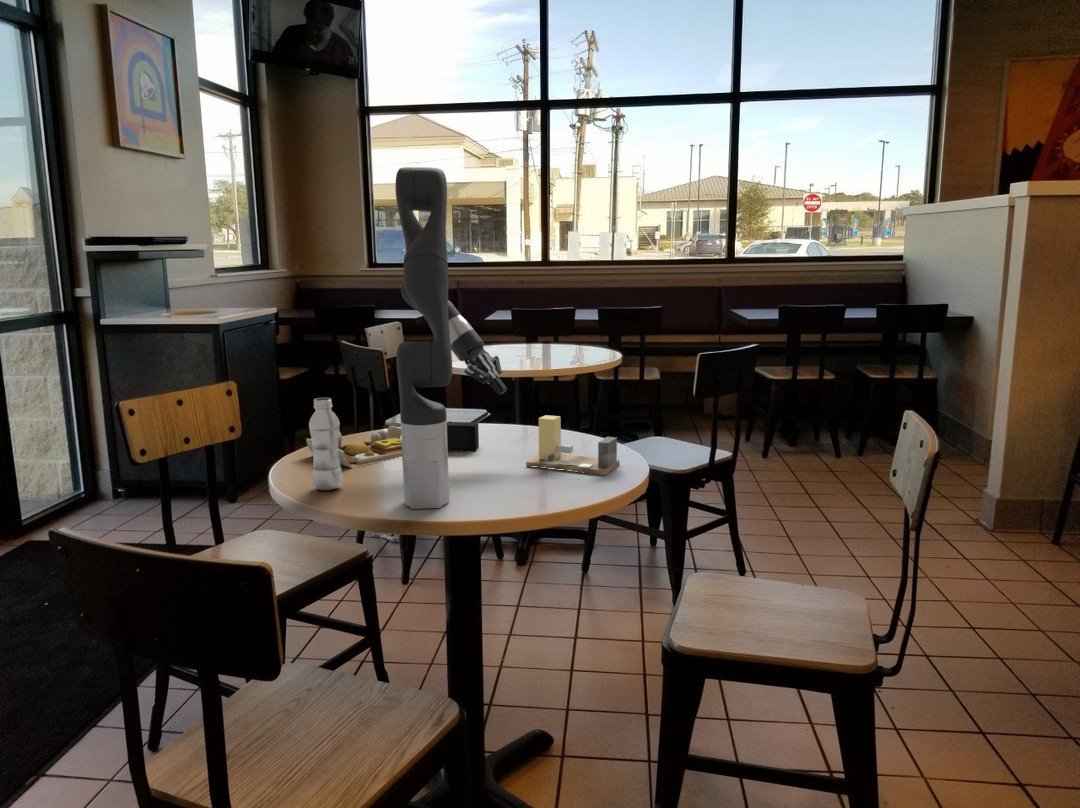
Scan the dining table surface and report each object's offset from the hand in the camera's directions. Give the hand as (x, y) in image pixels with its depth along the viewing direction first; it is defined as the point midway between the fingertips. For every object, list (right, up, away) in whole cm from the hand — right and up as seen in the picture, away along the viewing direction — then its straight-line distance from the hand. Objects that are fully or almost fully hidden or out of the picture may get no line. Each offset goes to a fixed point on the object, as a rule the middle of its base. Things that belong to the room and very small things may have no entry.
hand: (503, 392), depth 193 cm
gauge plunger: (+13, -16, -4) cm, 21 cm away
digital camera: (-12, -15, +14) cm, 24 cm away
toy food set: (-35, -16, +9) cm, 40 cm away
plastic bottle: (-37, -22, -21) cm, 48 cm away
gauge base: (+17, -18, -4) cm, 25 cm away
